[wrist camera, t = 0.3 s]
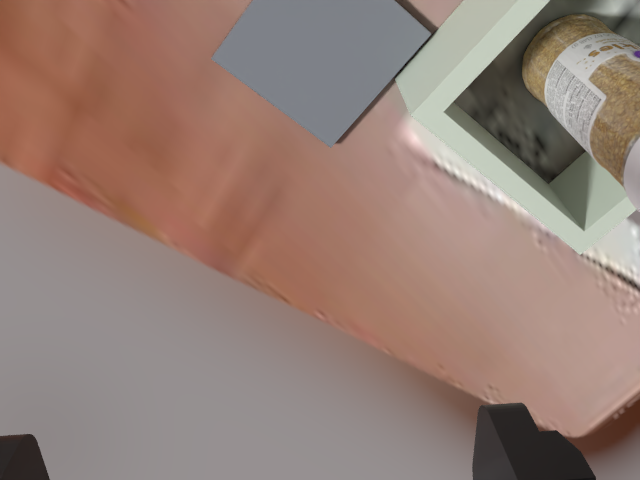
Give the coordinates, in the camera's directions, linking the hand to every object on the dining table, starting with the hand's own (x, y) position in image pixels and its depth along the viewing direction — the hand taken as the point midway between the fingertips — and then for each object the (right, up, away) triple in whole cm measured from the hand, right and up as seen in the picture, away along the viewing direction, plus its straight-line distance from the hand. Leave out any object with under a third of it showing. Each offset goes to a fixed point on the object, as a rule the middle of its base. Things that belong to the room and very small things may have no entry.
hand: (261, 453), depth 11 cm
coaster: (+1, +13, +18) cm, 23 cm away
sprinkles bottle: (+13, +13, +19) cm, 27 cm away
